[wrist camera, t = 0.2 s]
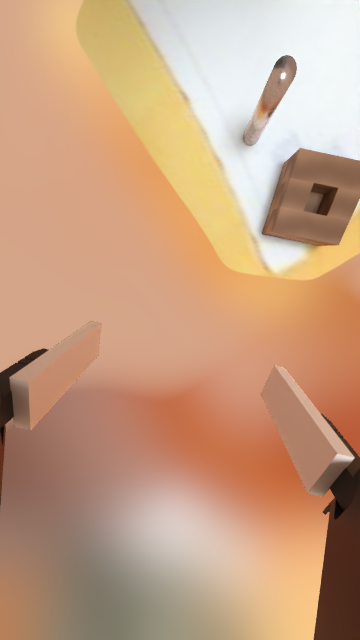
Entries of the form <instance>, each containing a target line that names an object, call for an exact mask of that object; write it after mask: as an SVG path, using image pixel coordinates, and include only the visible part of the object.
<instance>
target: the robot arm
mask: <svg viewBox="0 0 360 640" xmlns="http://www.w3.org/2000/svg"><path fill="white" fill-rule="evenodd" d="M100 332H101V323H98V322H94V321H90V322H89V323H87V324H86V325H85V326H83V327H82V328H80V329H79V330H77V331H76V332H74V333H73V334H72V335H70V336H69V337H67V338H66V339H64V340H63V341H61V342H60V343H58V344H57V345H56V346H54V347H53V348H51V349H50V350H47V349H41V350H38V351H35V352H33V353H31V354H29V355H28V356H26V357H25V358H23V359H21V360H20V361H18V363H15V364H13V365H12V366H10V367H9V368H7V369H6V370H4V371H2V372H1V373H0V504H1V489H2V475H3V461H4V447H5V432H6V427H5V424H6V423H7V422H8V421H10V420H11V419H12V418H13V420H14V427H18V428H23V429H27V430H31V429H32V428H33V427H34V426H35V425H36V424H37V423H38V422H39V421H40V419H41V418H42V417H43V416H44V415H45V414H46V413H47V412H48V411H49V410H50V408H51V407H52V406H53V405H54V404H55V403H56V402H57V401H58V399H59V398H60V397H61V396H62V395H63V394H64V393H65V392H66V391H67V390H68V388H69V387H70V386H71V385H72V384H73V383H74V382H75V381H76V380H77V378H78V377H79V376H80V375H81V374H82V373H83V372H84V371H85V370H86V368H87V367H88V366H89V365H90V364H91V363H92V362H93V361H94V360H95V358H96V357H97V356H98V353H99V342H100ZM261 396H262V398H263V400H264V402H265V405H266V406H267V409H268V411H269V413H270V415H271V417H272V419H273V421H274V423H275V426H276V428H277V430H278V432H279V434H280V436H281V438H282V440H283V443H284V445H285V447H286V449H287V451H288V453H289V455H290V457H291V459H292V462H293V464H294V466H295V468H296V470H297V472H298V474H299V476H300V478H301V481H302V483H303V485H304V487H305V489H306V491H307V493H309V494H314V495H318V496H324V495H325V493H326V492H327V491H328V490H329V489H331V491H332V493H333V495H334V496H335V498H334V499H333V500H332V501H331V502H330V503H329V505H328V506H327V507H326V508H325V509H324V511H323V513H324V514H327V512H330V514H329V523H328V530H327V538H326V546H325V555H324V562H323V570H322V578H321V586H320V594H319V602H318V610H317V618H316V626H315V634H314V640H360V457H359V456H358V455H357V453H356V452H355V451H354V450H353V448H352V447H351V446H350V445H349V444H348V442H347V441H346V440H345V439H343V436H342V435H341V434H340V432H338V430H337V429H336V427H335V426H334V425H333V424H332V423H331V421H329V420H328V419H327V418H326V417H325V416H324V415H323V414H321V413H319V411H318V410H317V409H316V407H315V406H314V405H313V404H312V402H311V401H310V400H309V398H308V397H307V396H306V395H305V393H304V392H303V391H302V390H301V388H300V387H299V386H298V384H297V383H296V382H295V381H294V379H293V378H292V377H291V375H290V374H289V373H288V372H287V370H286V369H285V368H284V367H280V366H276V365H274V367H273V369H272V371H271V373H270V375H269V377H268V379H267V382H266V383H265V385H264V388H263V390H262V392H261Z"/></svg>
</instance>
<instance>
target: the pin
mask: <svg viewBox="0 0 360 640" xmlns="http://www.w3.org/2000/svg"><path fill="white" fill-rule="evenodd" d="M296 70H297V66H296V62H295V60H294V58H293V57H291V56H288V55H286V56H283V57H281V58H280V59H279V60H278V61H277V62H276V63H275V65H274V68H273V70H272V72H271V74H270V77H269V79H268V81H267V84H266V86H265V88H264V90H263V93H262V95H261V97H260V99H259V102H258V104H257V106H256V108H255V111H254V113H253V115H252V117H251V120H250V122H249V124H248V127H247V129H246V131H245V133H244V142H245V143H246V144H247V145H249V146H251V145H254V144H255V143H256V142H257V140H258V139H259V137H260V135H261V134H262V132H263V130H264V129H265V127H266V125H267V123H268V122H269V120H270V118H271V117H272V115H273V113H274V112H275V110H276V108H277V106H278V105H279V103H280V101H281V100H282V98H283V96H284V95H285V93H286V91H287V89H288V88H289V86H290V84H291V83H292V81H293V79H294V77H295V75H296Z"/></svg>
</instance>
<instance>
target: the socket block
mask: <svg viewBox="0 0 360 640" xmlns="http://www.w3.org/2000/svg"><path fill="white" fill-rule="evenodd" d="M359 199H360V161H358V160H353V159H349V158H344V157H339V156H335V155H330V154H325V153H321V152H316V151H311V150H307V149H302V148H300V149H299V150H298V151H297V152H296V153H295V154H294V155H292V156H291V157H290V158H289V159H288V160H287V161H286V162H285V163H284V166H283V169H282V173H281V176H280V179H279V182H278V185H277V188H276V192H275V195H274V198H273V201H272V204H271V207H270V211H269V214H268V217H267V220H266V223H265V226H264V230H263V233H262V234H265V235H270V236H275V237H280V238H285V239H289V240H294V241H299V242H304V243H308V244H313V245H318V246H327V245H339V243H340V241H341V239H342V236H343V234H344V232H345V230H346V228H347V225H348V223H349V221H350V219H351V216H352V214H353V212H354V210H355V208H356V205H357V203H358V201H359Z"/></svg>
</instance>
